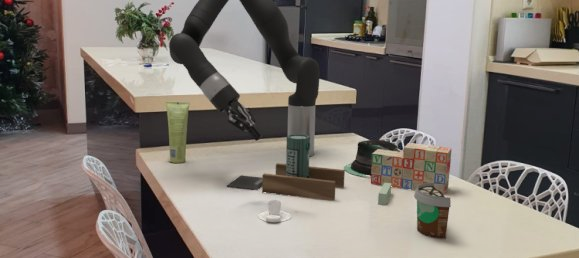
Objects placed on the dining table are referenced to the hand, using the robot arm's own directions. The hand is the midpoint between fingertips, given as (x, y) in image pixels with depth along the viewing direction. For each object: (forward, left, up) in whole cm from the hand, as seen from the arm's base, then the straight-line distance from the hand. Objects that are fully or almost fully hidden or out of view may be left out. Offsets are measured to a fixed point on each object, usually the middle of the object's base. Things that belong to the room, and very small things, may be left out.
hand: (259, 138), depth 169 cm
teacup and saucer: (+25, +10, -14) cm, 30 cm away
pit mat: (0, -4, -13) cm, 14 cm away
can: (0, +11, -14) cm, 18 cm away
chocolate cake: (-28, +29, -14) cm, 43 cm away
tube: (-14, -33, -14) cm, 38 cm away
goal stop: (0, +36, -13) cm, 38 cm away
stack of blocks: (-14, +41, -14) cm, 45 cm away
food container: (+20, +48, -14) cm, 54 cm away
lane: (0, +13, -13) cm, 19 cm away
